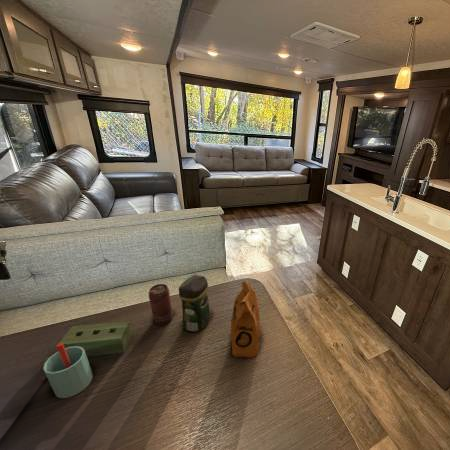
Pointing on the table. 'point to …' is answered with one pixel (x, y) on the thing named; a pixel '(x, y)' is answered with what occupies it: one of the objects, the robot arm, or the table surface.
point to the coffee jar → (195, 303)
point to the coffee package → (245, 323)
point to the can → (160, 304)
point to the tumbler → (68, 372)
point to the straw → (63, 355)
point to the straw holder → (99, 338)
